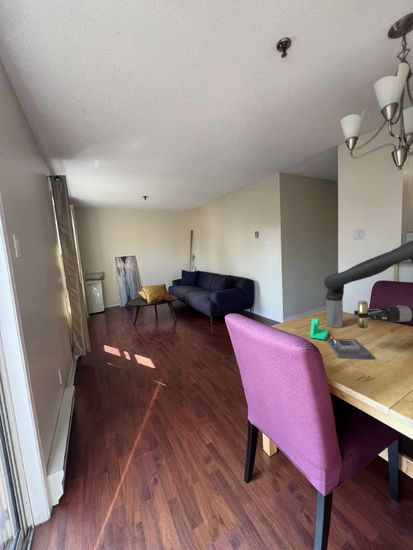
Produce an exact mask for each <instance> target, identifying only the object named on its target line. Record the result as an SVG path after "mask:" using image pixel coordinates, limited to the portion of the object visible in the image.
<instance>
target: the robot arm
mask: <svg viewBox="0 0 413 550" xmlns="http://www.w3.org/2000/svg"><path fill="white" fill-rule="evenodd" d="M408 260H410V261H411V262H412V264H413V240H410V241H408V242H405V243H404V244H402V245H400V246H398V247H396V248H393V249H392V250H389V251H388V252H384V253H382V254H379V255H377V256H375V257H372V258H369V259H367V260H364V261H362V262H359V263H357V264H355V265H354V266H352V267H350V268H348V269H346V270H344V271H341V272H337V273H332V274H330V275H327V276H326V277H325V279H324V281H323V284H324V286H325V288H327V293H326V295H325V300H326V301H325V303H326V305H325V306H326V309H325V312H326V316H325V318H326V323H325V324H326V326H328V327H330V328H334V329H335V328H336V329H339V328H342V327H343V326H344V325H343V323H344V322H343V321H344V313H343V311H344V309H343V307H344V305H343V304H344V302H343V299H344V293H345V291H344V290H345V285H347V284H350V283H353V282H356V281H361V280H365V279H367V278H370V277H371V278H372V277H374V276H375V275H376V276H377V275H379V274H381V273H383V272H385V271H386V270H388V269H390V268H391V267H393V266H394V265H397V264H399V263H402V262H405V261H408ZM353 314H354V315H355V316H357V318H358V317H359V318H368V320H369V319H371V320H372V321H382V322H383V321H385V322H389V323H390V322H391V323H394V322H395V323H397V322H413V305H383V306H382V308H381V309H380V308H375V309H374V308H373V307H368V314H367V313H359V314H358V309H357V310H354V311H353Z"/></svg>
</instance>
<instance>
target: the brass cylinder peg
mask: <svg viewBox="0 0 413 550" xmlns="http://www.w3.org/2000/svg"><path fill="white" fill-rule="evenodd" d="M368 308H369V303H368V301H365V300H359V301H358V303H357V310H358V314H359V313H367V314H368ZM357 327H358V328H360V329H368V328H369V318H359V317H358V316H357Z"/></svg>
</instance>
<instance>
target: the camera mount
mask: <svg viewBox="0 0 413 550" xmlns="http://www.w3.org/2000/svg"><path fill="white" fill-rule="evenodd" d="M319 326H320V319H319V318H311V325H310V333H309V334H310V335H309V336H310V338H313V339H317V340H318V339H320V340H327V339H328V336H329V332H330V331H329V329H324V328H319Z"/></svg>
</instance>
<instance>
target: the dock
mask: <svg viewBox="0 0 413 550" xmlns="http://www.w3.org/2000/svg"><path fill="white" fill-rule="evenodd" d="M326 344H328V346H329V348H331V350H332V352H333V353H334V354H335V355H336V357H337V358H338V359H348V360H349V359H350V360H373V354H372V353H371V352H370V351H368V349H367V348H365V346H364V345H362V344H361V343H360V342H359V341H358V340H357V339H356V338H355V339H353V338H335V337H334V336H330V337H329V338H327V339H326Z"/></svg>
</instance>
